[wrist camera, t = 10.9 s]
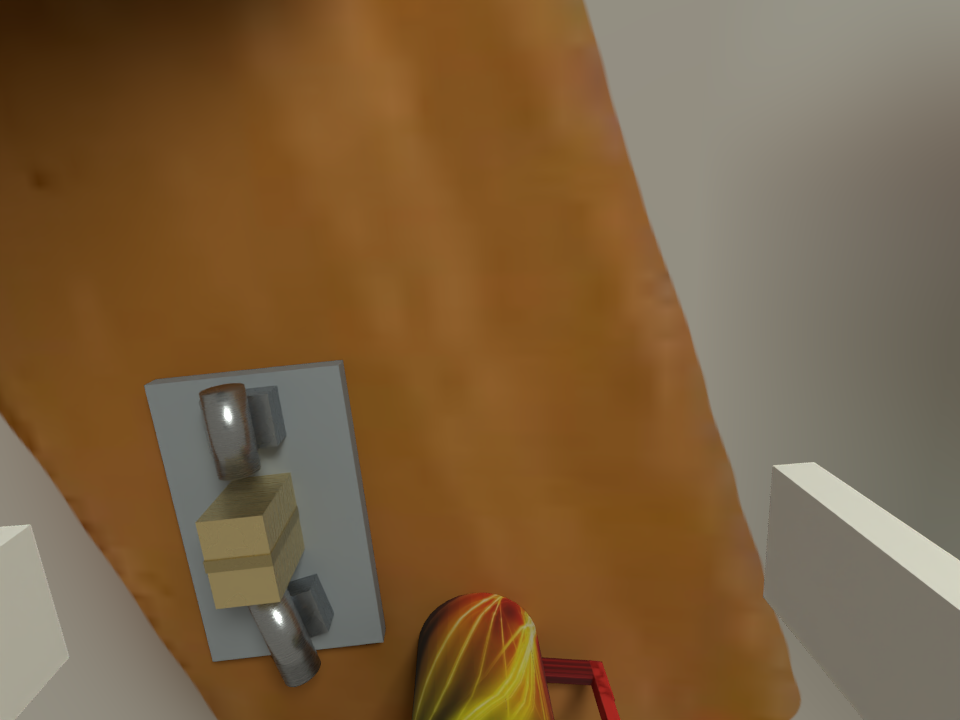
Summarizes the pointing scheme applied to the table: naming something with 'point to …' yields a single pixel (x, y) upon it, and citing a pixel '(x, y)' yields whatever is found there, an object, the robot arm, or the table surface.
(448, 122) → the table surface
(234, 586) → the tan rectangular block
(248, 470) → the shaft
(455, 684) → the patterned mug
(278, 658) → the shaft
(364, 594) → the base plate
